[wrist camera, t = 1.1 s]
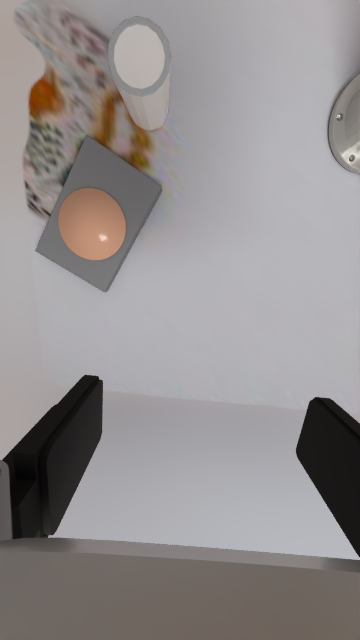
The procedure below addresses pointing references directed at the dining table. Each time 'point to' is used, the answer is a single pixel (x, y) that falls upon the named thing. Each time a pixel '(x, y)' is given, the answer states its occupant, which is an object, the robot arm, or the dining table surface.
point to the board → (124, 187)
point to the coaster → (92, 224)
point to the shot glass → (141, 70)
